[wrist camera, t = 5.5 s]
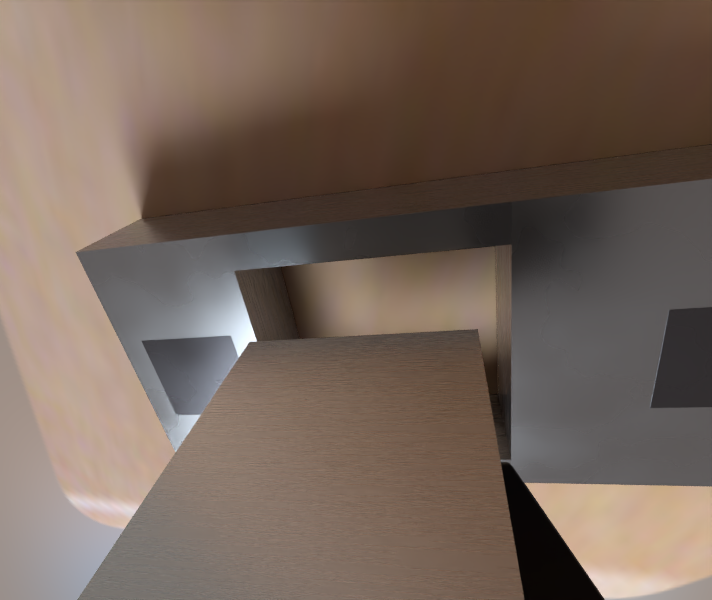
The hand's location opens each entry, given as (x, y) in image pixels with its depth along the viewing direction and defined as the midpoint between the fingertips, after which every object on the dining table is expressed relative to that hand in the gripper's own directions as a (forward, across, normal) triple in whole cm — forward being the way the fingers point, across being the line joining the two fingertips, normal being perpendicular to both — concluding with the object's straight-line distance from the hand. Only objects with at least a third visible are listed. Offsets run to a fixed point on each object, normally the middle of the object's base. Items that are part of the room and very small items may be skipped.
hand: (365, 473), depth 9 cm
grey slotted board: (+7, -2, 0) cm, 7 cm away
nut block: (+2, 0, 0) cm, 2 cm away
